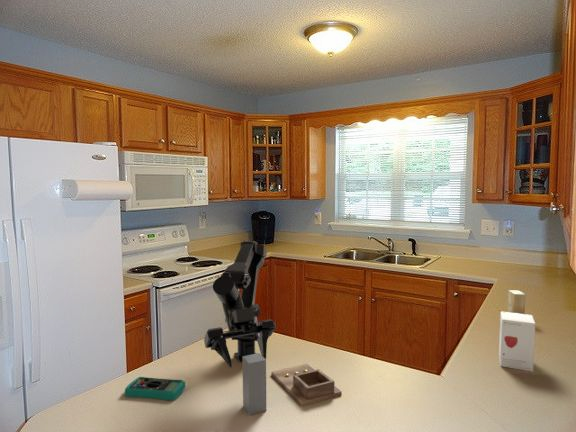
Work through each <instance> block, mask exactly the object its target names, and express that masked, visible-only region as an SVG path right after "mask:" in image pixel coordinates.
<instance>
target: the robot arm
mask: <svg viewBox="0 0 576 432" xmlns="http://www.w3.org/2000/svg"><path fill="white" fill-rule="evenodd" d="M266 258H267V248H266V246H265V245H264V244H261V243H258V242H257V241H255V240H243V241H241V242H240V248H239V251H238V252H237V255H236V258H235V259H234V261H233V263H231V264H230V265H228V266H227V267H226V268H225V270H224V272H222V274H221V275H220V276H219V277H217V278H216V279H215V280H214V282H213V283H212V290H213V291H214V294H215V295H216V296H217V298H218V300H219V301H220V303H221V305H222V309H223V314H224V317H225V318H224V322H225V323H226V326H227V329H228V330H226V331H224V329H223V328H222V327H221V326H220V327H219V326H218V327H214V328H208V330H206V332H205V334H204V335H205V336H204V339H203V340H204V342H203V343H204V346H205V348H206V349H210V351H215V352H216V354H218V355H219V356H220V357H221V358H222V359H223V361H224V362H225V363H226V365H227V366H228V367H229V369H230V368H233V362H232V358H231V354H230V353H229V351H230V350H229V348H228V345H227V340H228V339H231V341H237V352H234V353H233V355H234V356H235V358H236V359H238V361H239V362H242V363H243V360H242V356H247V355H252V354H257V353H256V342H257V344H258V348H259V353H260V354H261V355H262V356H263V357H264V358H265V359H266V360H267V351H268V350H267V348H268V347H267V346H268V339H269V338H270V337H271V336H272V335H273V333H274V331H275V330H276V328H277V327H276V323H275V321H273V319H272V318H271V319H263V320H260V321H259V322H258V318H257V317H259V316H261V310H260V307H259V304H258V303H256V302H255V301H256V294H257V293H256V292H257V285H258V277H259V270H260V269H261V268H262V267H263V265H265V264H264V263H265V259H266ZM240 290H242V292H240Z"/></svg>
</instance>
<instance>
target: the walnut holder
mask: <svg viewBox="0 0 576 432" xmlns="http://www.w3.org/2000/svg"><path fill="white" fill-rule="evenodd" d="M270 373H271V374H270V375H271V377H273V379H275V381H276V382H278V384H280V386H281V387H282V388H284V390H285V391H286V392H287V393H288V394H289V395H290V396H291V397H292V398H293V399H294V400H295V401H296V402H297V404H299V405H300V406H301V407H304V406H307V405H311V404H314V403H318V402H322V401H326V400H329V399H332V398H336V397H340V396H342V392H343V391H341V390H340V389H339V388H338V387H337V386H335V381H334V380H333V379H332V378H331V377H329V376H328V375H327V374H326V373H325V372H323V371H322V370H320V369H319V368H318V369H314V368H313V367H311V365H309V364H308V363H304V364H299V365H296V366H291V367H286V368H282V369H277V370H273V371H271V372H270Z"/></svg>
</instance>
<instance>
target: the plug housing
mask: <svg viewBox="0 0 576 432" xmlns="http://www.w3.org/2000/svg"><path fill="white" fill-rule="evenodd" d="M242 360H243V361H242V406H243V407H242V408H244V410H245V411H246V412H247V414H248V415H249V416H251V415H256V414H259V413H262V412H266V411H267V358H266V359H265V358H264V357H263V356H262V355H261V352H257V353H256V354H252V355H247V356H242Z"/></svg>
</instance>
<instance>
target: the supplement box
mask: <svg viewBox="0 0 576 432" xmlns="http://www.w3.org/2000/svg"><path fill="white" fill-rule="evenodd" d="M499 318H500V323H499V324H500V325H499V339H498V340H499V342H498V345H499V346H498V359H499V366H500V367H504V368H510V369H516V370H522V371H527V372H531V373H532V372H534V363H535V361H534V359H535V357H534V356H535V343H536V341H535V340H536V322H535V320H534V316H533V314H527V313H525V314H519V313H510V312H508V311H500V317H499Z"/></svg>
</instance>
